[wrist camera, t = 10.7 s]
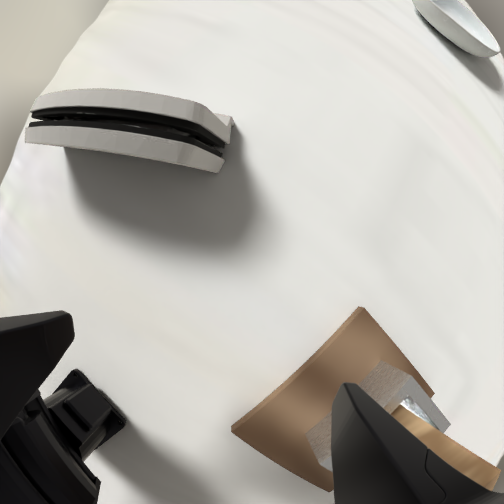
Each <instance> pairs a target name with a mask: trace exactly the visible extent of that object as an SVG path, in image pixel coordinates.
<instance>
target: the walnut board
mask: <svg viewBox="0 0 504 504" xmlns="http://www.w3.org/2000/svg"><path fill="white" fill-rule="evenodd" d="M381 360H382V361H384V362H386V363H388V364H390V365H392V366H393V367H395V368H397V369H399V370H401V371H403V372H405V373H407V374H409V375H411V376H412V377H413V378H414V379H415V380H416V382H417V383H418V384H419V385H420V386H421V388H422V389H423V390H424V391H425V393H426V394H427V395H428V396H429V397H430V399H431V397H432V396H433V395H434V394H435V393H434V392H433V390H432V389H431V388H430V387H429V385H428V384H427V383H426V381H425V380H424V379H423V378H422V376H421V375H420V374H419V373H418V371H417V370H416V369H415V368H414V366H413V365H412V364H411V363H410V361H409V360H408V359H407V358H406V357H405V355H404V354H403V353H402V352H401V350H400V349H399V348H398V347H397V346H396V344H395V343H394V342H393V341H392V340H391V339H390V337H389V336H388V335H387V334H386V333H385V331H384V330H383V329H382V328H381V327H380V326H379V324H378V323H377V322H376V321H375V320H374V319H373V317H372V316H371V315H370V314H369V313H368V312H367V311H366V309H365V308H363V307H358V308H357V309H356V310H355V311H354V312H353V313H352V314H351V316H350V317H349V318H348V319H347V320H346V321H345V322H344V323H343V324H342V325H341V327H340V328H339V329H338V330H337V331H336V332H335V333H334V334H333V335H332V336H331V337H330V338H329V339H328V340H327V341H326V342H325V343H324V344H323V345H322V346H321V347H320V348H319V349H318V350H317V351H316V352H315V353H314V354H313V355H312V356H311V357H310V358H309V359H308V360H307V361H306V362H305V363H304V364H303V365H302V366H301V367H300V368H299V369H298V370H297V371H296V372H295V373H294V374H293V375H291V376H290V377H289V378H288V379H287V380H286V381H285V382H284V383H283V384H282V385H280V386H279V387H278V388H277V389H276V390H275V391H274V392H272V393H271V394H270V395H269V396H268V397H267V398H265V399H264V400H263V401H262V402H261V403H260V404H258V405H257V406H256V407H255V408H253V409H252V410H251V411H250V412H249V413H247V414H246V415H245V416H243V417H242V418H241V419H240V420H238V421H237V422H236V423H235V424H233V425H232V426H231V432H232V433H234V434H235V435H236V436H238V437H239V438H240V439H242V440H243V441H244V442H246V443H247V444H249V445H250V446H251V447H253V448H254V449H256V450H257V451H259V452H260V453H262V454H263V455H265V456H266V457H268V458H269V459H271V460H272V461H274V462H276V463H277V464H279V465H280V466H282V467H284V468H285V469H287V470H289V471H290V472H292V473H294V474H296V475H297V476H299V477H301V478H303V479H304V480H306V481H308V482H310V483H312V484H314V485H316V486H318V487H320V488H322V489H324V490H326V491H328V492H331V491H332V490H333V489H334V483H333V472H331V471H330V470H328V469H326V468H325V467H323V466H321V465H320V464H319V462H318V460H317V458H316V456H315V454H314V452H313V449H312V447H311V445H310V443H309V441H308V439H307V437H306V435H305V433H306V432H308V431H309V430H310V429H311V428H312V427H314V426H315V425H316V424H317V423H318V422H319V421H321V420H322V419H323V418H324V417H325V416H326V415H327V414H328V413H330V412H331V411H332V403H333V401H334V398H335V396H336V394H337V392H338V390H339V387H340V385H341V384H342V383H344V382H349V383H356V384H357V385H358V384H359V383H360V382H361V381H362V380H363V379H364V378H365V377H366V376H367V375H368V374H369V373H370V372H371V371H372V370H373V368H374V367H375V366H376V365H377V364H378V363H379V362H380V361H381Z"/></svg>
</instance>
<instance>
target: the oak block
mask: <svg viewBox="0 0 504 504" xmlns="http://www.w3.org/2000/svg"><path fill="white" fill-rule="evenodd" d="M391 415H392V416H393V417H394V418H395V419H396V420H397V421H398V422H400V423H401V424H402V425H403V426H404V427H405V428H406V429H408V430H409V431H410V432H411V433H412V434H413V435H414V436H416V437H417V438H418V439H419V440H420V441H421V442H423V443H424V444H425V445H426V446H427V447H428V448H430V449H431V450H432V451H433V452H434V453H436V454H437V455H438V456H439V457H440V458H442V459H443V460H444V461H446V462H447V463H448V464H449V465H451V466H452V467H454V468H455V469H457V470H458V471H459V472H461V473H462V474H464V475H466V476H467V477H469V478H470V479H472V480H473V481H475V482H477V483H478V484H480V485H482V486H483V487H485V488H486V489H488V490H490V491H492V490H493V488H494V485H495V483H496V481H497V479H498V477H499V474H500V472H501V470H500V469H498V468H497V467H495V466H493V465H492V464H490V463H488V462H487V461H485V460H484V459H482V458H480V457H479V456H477V455H476V454H474V453H472V452H471V451H469V450H468V449H466V448H465V447H463V446H461V445H460V444H458V443H457V442H455V441H454V440H452V439H451V438H449V437H448V436H446V435H445V434H443V433H442V432H440V431H439V430H437V429H436V428H434V427H433V426H431V425H430V424H428V423H427V422H425V421H424V420H423V419H421V418H420V417H418V416H417V415H415V414H414V413H412V412H411V411H410V410H408V409H407V408H405V407H404V406H402V405H401V404H400V405H399V406H398V407H397V408H396V409H395V410H394V411H393V412H392V413H391Z"/></svg>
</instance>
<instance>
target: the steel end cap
mask: <svg viewBox="0 0 504 504" xmlns="http://www.w3.org/2000/svg"><path fill="white" fill-rule="evenodd" d="M358 386H359V387H361V388H362V389H363V390H364V391H365V392H366V393H367V394H368V395H369V396H370V397H372V398H373V399H374V400H375V401H376V402H377V403H378V404H379V405H380V406H382V407H383V408H384V409H385V410H386V411H387V412H388V413H389V414H391V413H392V412H393V411H394V410H395V409H396V408H397V407H398V406H399V405H400V404H401V405H402V406H404V407H405V408H407V409H408V410H410V411H411V412H412V413H414V414H415V415H417V416H418V417H420V418H421V419H423V420H424V421H425V422H427V423H428V424H430V425H431V426H433V427H434V428H436V429H437V430H439V431H440V432H442V433H444V432H445V431H446V429H447V428H448V427H449V426H450V425H451V424H450V423H449V421H448V420H447V419H446V418H445V416H444V415H443V414H442V412H441V411H440V410H439V409H438V407H437V406H436V405H435V404H434V402H433V401H432V400H431V399H430V397H429V396H428V395H427V394H426V393H425V391H424V390H423V389H422V388H421V386H420V385H419V384H418V383H417V382H416V380H415V379H414V378H413V377H412V376H411V375H409V374H407V373H405V372H403V371H401V370H399V369H397V368H395V367H393V366H392V365H390V364H388V363H386V362H384V361H382V360H381V361H380V362H379V363H378V364H377V365H376V366H375V367H374V368H373V370H372V371H371V372H370V373H369V374H368V375H367V376H366V377H365V378H364V379H363V380H362V381H361V382H360V383H359V384H358ZM331 418H332V411H331V412H330V413H328V414H327V415H326V416H325V417H324V418H323V419H322V420H321V421H319V422H318V423H317V424H316V425H315V426H314V427H312V428H311V429H310V430H309V431H308V432H306V433H305V435H306V437H307V439H308V441H309V443H310V445H311V447H312V449H313V452H314V454H315V456H316V458H317V460H318V462H319V464H320V465H321V466H323V467H325V468H326V469H328V470H330V471H331V472H333V470H332V459H331Z"/></svg>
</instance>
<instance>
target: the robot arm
mask: <svg viewBox="0 0 504 504" xmlns="http://www.w3.org/2000/svg"><path fill="white" fill-rule="evenodd" d="M74 337H75V333H74V326H73V319H72V316H71V315H70V314H69V313H67V312H65V311H62V310H61V311H53V312H45V313H37V314H29V315H21V316H12V317H3V318H0V504H97V501H98V495H99V490H100V485H101V481H100V480H99V479H98V478H97V477H96V476H94V474H93V473H92V472H91V471H90V470H89V468H88V467H87V466H86V465H85V463H84V461H85V460H86V459H87V457H88V456H89V455H90V454H91V453H92V452H93V450H95V449H97V448H98V447H99V446H100V445H102V444H103V443H104V442H106V441H107V440H108V439H109V438H111V437H112V436H113V435H115V434H116V433H117V432H118V431H120V430H121V429H122V428H123V427H124V426H125V425H126V420H125V419H124V418H123V417H122V416H121V415H120V414H119V413H118V412H117V411H116V410H115V409H114V408H113V407H112V406H111V405H110V404H109V403H108V402H107V401H106V400H105V399H104V398H103V397H102V396H101V394H100V393H99V392H98V391H97V390H96V389H95V388H94V387H93V386H92V384H91V383H90V382H89V381H88V380H87V379H86V378H85V376H84V375H83V374H82V373H81V372H80V371H79V370H78V369H74V370H72V371H71V372H70V373H69V375H68V376H67V377H66V378H65V379H64V381H63V382H62V383H61V384H60V385H59V387H58V388H57V389H56V390H55V391H54V393H53V394H52V395H51V396H49V397H47V398H46V399H44V400H43V399H42V397H41V396H40V394H41V393H40V391H39V389H38V388H39V387H40V386H41V384H42V383H43V382H44V381H45V379H46V378H47V377H48V376H49V374H50V373H51V372H52V371H53V369H54V368H55V367H56V365H57V364H58V362H59V361H60V359H61V358H62V356H63V355H64V353H65V352H66V350H67V349H68V347H69V346H70V345H71V343H72V342H73V340H74ZM75 373H76V374H77V375H78V377H77V376H76V374H75ZM119 421H121V422H122V423H120V422H119ZM331 459H332V470H333V483H334V499H335V504H504V493H497V492H493V491H490V490H488V489H486V488H485V487H483V486H482V485H480V484H478V483H477V482H475V481H473V480H472V479H470V478H469V477H467V476H466V475H464V474H462V473H461V472H459V471H458V470H457V469H455V468H454V467H452V466H451V465H449V464H448V463H447V462H446V461H444V460H443V459H442V458H440V457H439V456H438V455H437V454H436V453H434V452H433V451H432V450H431V449H430V448H428V447H427V446H426V445H425V444H424V443H423V442H421V441H420V440H419V439H418V438H417V437H416V436H414V435H413V434H412V433H411V432H410V431H409V430H408V429H406V428H405V427H404V426H403V425H402V424H401V423H400V422H398V421H397V420H396V419H395V418H394V417H393V416H392V415H391V414H389V413H388V412H387V411H386V410H385V409H384V408H383V407H382V406H380V405H379V404H378V403H377V402H376V401H375V400H374V399H373V398H372V397H370V396H369V395H368V394H367V393H366V392H365V391H364V390H363V389H362V388H361V387H359V386H358V385H357V384H356V383H349V382H344V383H342V384H341V385H340V387H339V390H338V392H337V394H336V396H335V398H334V401H333V403H332V418H331Z"/></svg>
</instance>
